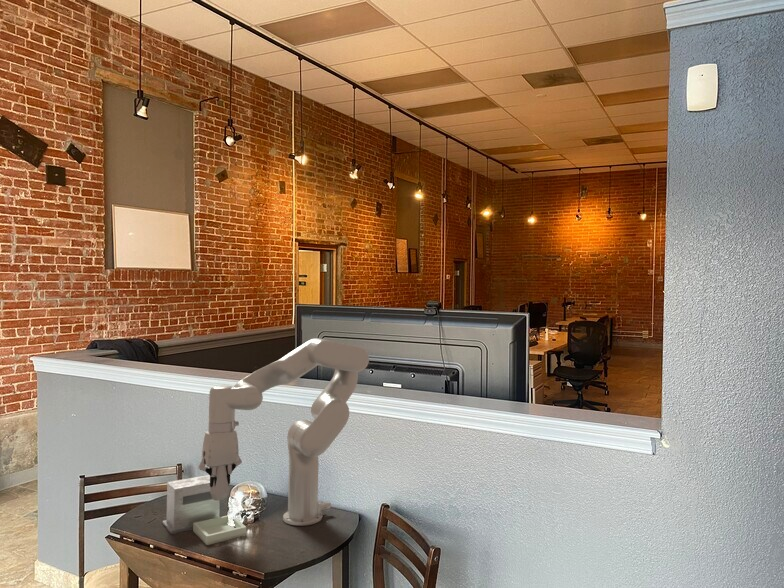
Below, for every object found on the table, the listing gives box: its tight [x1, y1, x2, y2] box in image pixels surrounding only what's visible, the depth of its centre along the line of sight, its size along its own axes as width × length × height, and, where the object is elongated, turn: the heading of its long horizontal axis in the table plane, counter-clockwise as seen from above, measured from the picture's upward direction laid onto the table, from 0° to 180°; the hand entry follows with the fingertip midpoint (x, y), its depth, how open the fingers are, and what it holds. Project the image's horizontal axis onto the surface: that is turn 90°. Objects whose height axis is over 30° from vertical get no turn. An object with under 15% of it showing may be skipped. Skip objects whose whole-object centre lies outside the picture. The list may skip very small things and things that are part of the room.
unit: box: [161, 474, 221, 535], centre depth 178 cm, size 16×10×13 cm, turn 127°
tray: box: [192, 514, 247, 546], centre depth 170 cm, size 12×12×2 cm
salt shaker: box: [210, 465, 231, 501], centre depth 170 cm, size 6×6×13 cm
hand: (219, 487), depth 170 cm, fingers closed on salt shaker, 3 cm apart
